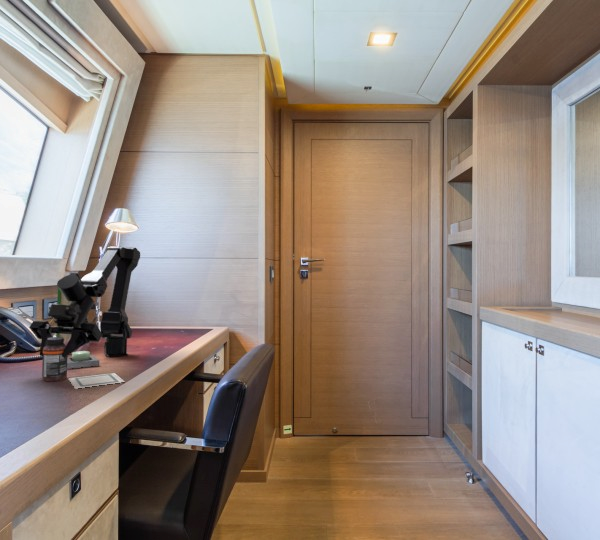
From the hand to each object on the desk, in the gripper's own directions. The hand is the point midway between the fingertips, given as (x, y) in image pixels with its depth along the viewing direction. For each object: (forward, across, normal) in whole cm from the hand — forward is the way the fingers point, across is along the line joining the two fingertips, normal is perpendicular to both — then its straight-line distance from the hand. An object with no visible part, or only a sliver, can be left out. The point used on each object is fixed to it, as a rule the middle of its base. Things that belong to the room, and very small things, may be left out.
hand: (52, 356), depth 113 cm
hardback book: (-27, -23, +37) cm, 51 cm away
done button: (-9, -3, +17) cm, 20 cm away
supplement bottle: (+4, 0, +6) cm, 7 cm away
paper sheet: (+4, +12, +6) cm, 14 cm away
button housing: (-8, -3, +18) cm, 20 cm away
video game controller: (-17, -14, +27) cm, 35 cm away
